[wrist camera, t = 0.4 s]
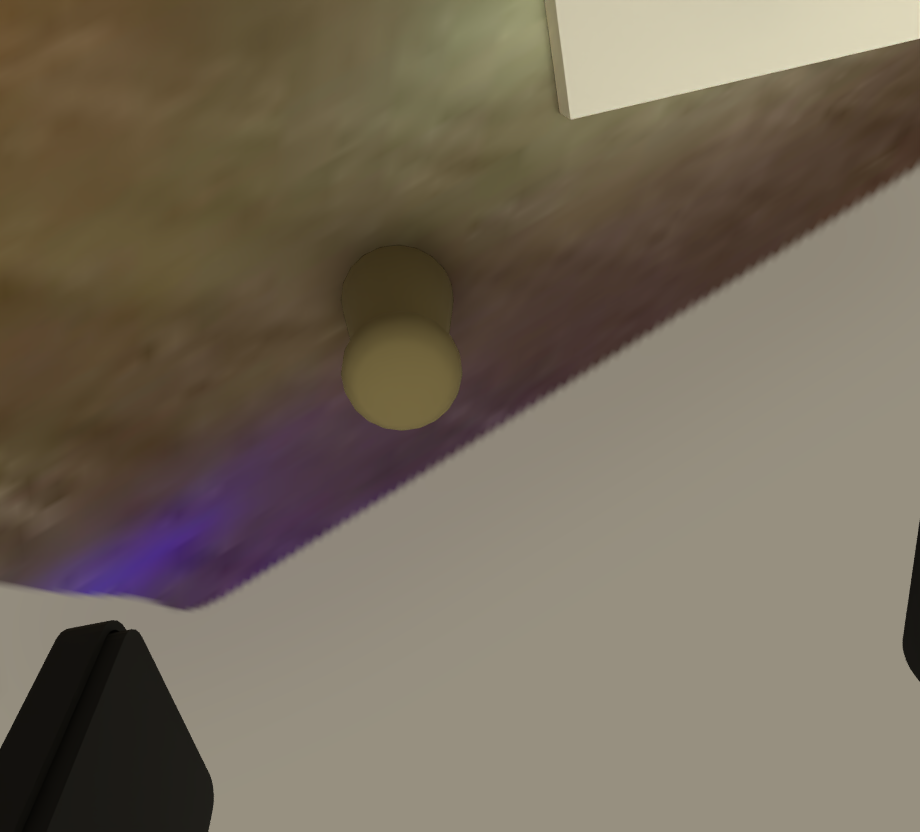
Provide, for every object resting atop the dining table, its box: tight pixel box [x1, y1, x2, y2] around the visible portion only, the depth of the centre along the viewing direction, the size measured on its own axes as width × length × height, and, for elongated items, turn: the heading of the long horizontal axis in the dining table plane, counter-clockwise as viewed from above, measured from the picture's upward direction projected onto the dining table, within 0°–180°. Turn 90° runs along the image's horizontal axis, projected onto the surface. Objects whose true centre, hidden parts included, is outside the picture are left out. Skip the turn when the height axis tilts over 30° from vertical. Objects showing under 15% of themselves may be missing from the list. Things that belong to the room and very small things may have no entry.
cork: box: [341, 245, 462, 430], centre depth 37 cm, size 6×6×11 cm
